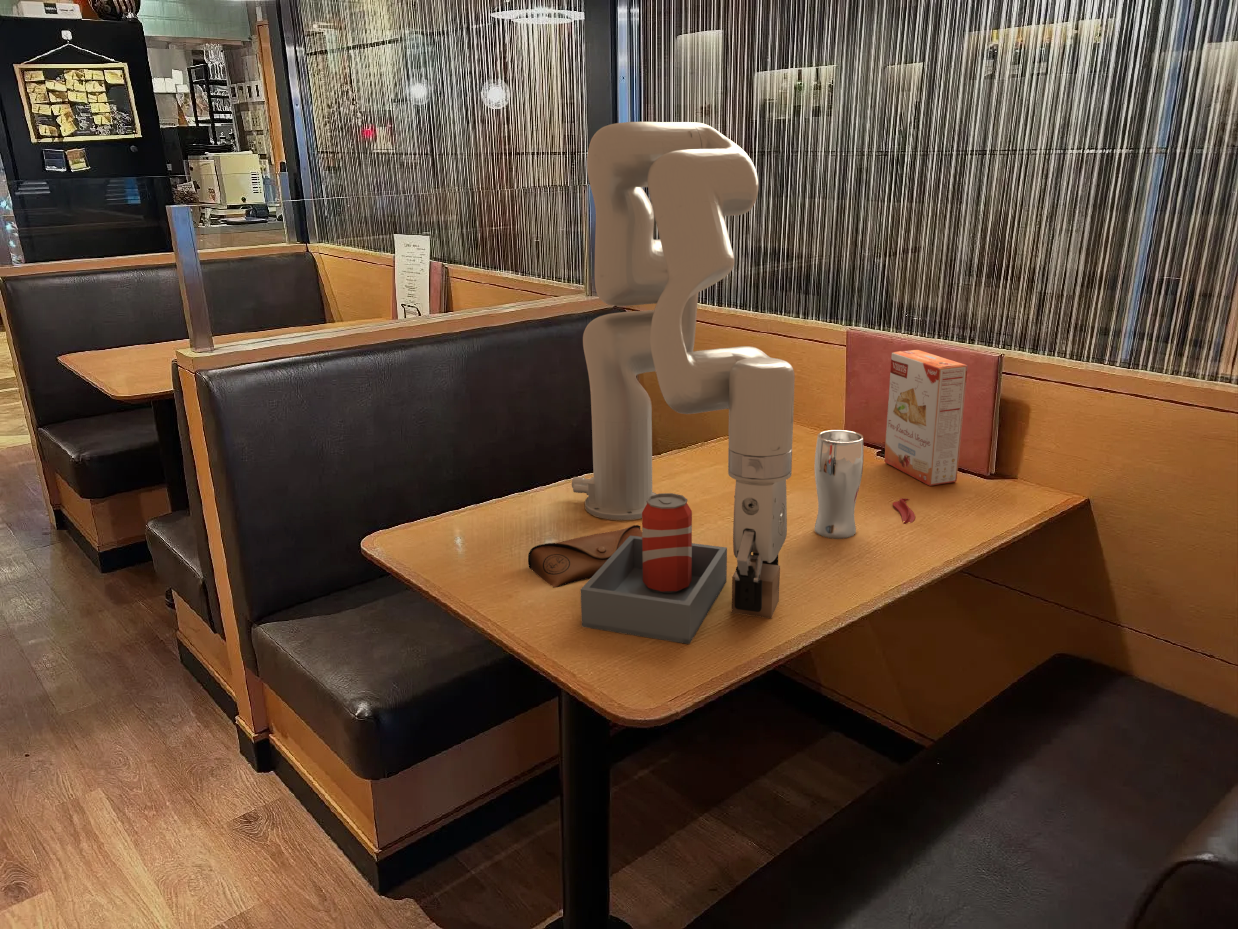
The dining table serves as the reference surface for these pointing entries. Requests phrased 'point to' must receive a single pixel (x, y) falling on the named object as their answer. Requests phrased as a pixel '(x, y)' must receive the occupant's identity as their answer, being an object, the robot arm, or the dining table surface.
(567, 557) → the sunglasses case
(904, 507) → the cayenne pepper
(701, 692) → the dining table surface
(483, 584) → the dining table surface
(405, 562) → the dining table surface
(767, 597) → the walnut cube
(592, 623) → the tote
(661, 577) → the beverage can
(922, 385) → the cracker box
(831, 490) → the beer glass
